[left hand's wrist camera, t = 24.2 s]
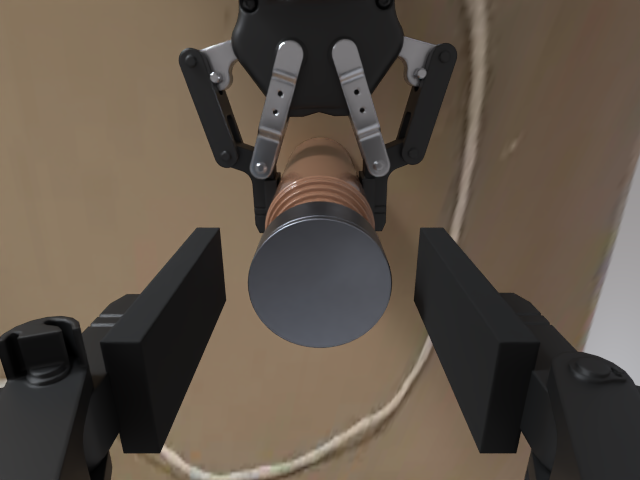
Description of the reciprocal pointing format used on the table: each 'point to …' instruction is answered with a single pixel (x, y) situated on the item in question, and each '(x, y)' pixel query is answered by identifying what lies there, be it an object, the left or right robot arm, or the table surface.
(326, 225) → the cap
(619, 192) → the table surface
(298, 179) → the bottle
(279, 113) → the right robot arm
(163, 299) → the left robot arm
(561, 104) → the table surface
